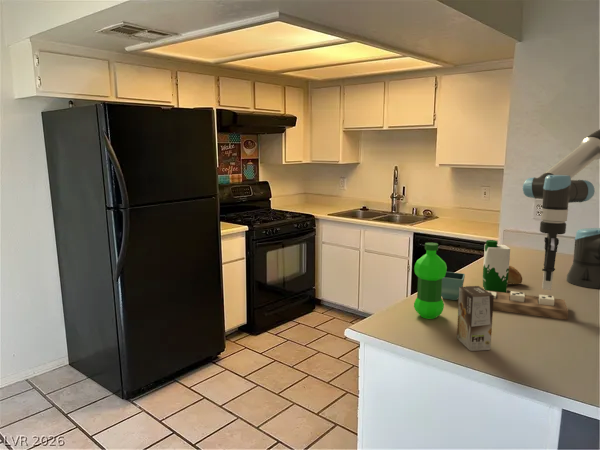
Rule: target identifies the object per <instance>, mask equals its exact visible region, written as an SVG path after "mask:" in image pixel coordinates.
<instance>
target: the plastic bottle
mask: <svg viewBox="0 0 600 450" xmlns="http://www.w3.org/2000/svg"><path fill="white" fill-rule="evenodd" d="M424 250H425V251H426V252H425V254H423V255H422V256H421V257H420V258H418V259H417V260H416V262H415V263H414V268H413V270H414V274H415V275H416V277H417V288H416V289H417V292H416V293H417V294H416V298H415V300H414V303H413V308H414V310H415V312H416V313H418V315H420V317H421V318H423V319H428V320H434V319H436V318H438V317H439V316H441V314H442V313H443V311H444V308H445V302H444V300H443V298H442V296H441V295H442V279H443V278H444V277H445V275H446V272H448V271H447V269H448V267H447V263H446V262H445V260H443V258H442V257H440V256H439V255H438V254H437V251H439V243H437V242H425V243H424Z"/></svg>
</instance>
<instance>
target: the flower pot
mask: <svg viewBox="0 0 600 450" xmlns="http://www.w3.org/2000/svg"><path fill="white" fill-rule="evenodd" d="M465 276H466V274H465V273H461V272H454V271H453V272H452V271H446V275H445V277H444V278H443V279H442V295H441V298H442V300H443V299H445V300H453V301H457V300H459V287H464V282H465V278H466V277H465Z"/></svg>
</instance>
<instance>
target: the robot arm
mask: <svg viewBox="0 0 600 450" xmlns="http://www.w3.org/2000/svg"><path fill="white" fill-rule="evenodd" d="M596 160H600V128H599V129H597V130H596V131H594V132H591V134H589V135H588V136H587V137H584V139H582V140H581V141H580V144H579V146H578V147H576V148H575V149H573V150H572V151H571V152H570V153H568V154H567V155H566V156H564V157H563V158H562V159H560V161H558V162H557V163H555V164H554V165H553V166H551V167H550V168H549V169H547V170H546V171H545V172H543V174H541V175H540V176H539V177H528V178H526V180H525V181H524V182H523V185H522V191H523V195H524V196H525V197H527V198H531V199H534V200H537V199H538V200H542V206H541V210H539V214H541V216H540V220H541V221H540V222H539V223H540V225H539V231H540V233H543V234H547V236H546V237H545V236H544V261H543V268H542V269H541V270H542V272H543V274H542V275H543V276H542V284H541V289H542V290H547V291H552V290H553V277H554V272H555V271H556V268H555V264H556V257H557V252H558V248H559V247H558V245H560V244H559V242H560V239H559V238H558V236H559V235H564V234H565V233H566V232H567V223H566V221H568V214H569V204H571V203H584V202H587V201H589V200H591V199H593V196H594V195H595V186H594V184H593V182H591V181H589V180H586V179H585V180H584V179H576V180H575V179H573V178H574V177H575V176H576V175H578V174H579V173H580V172H581V171H582V170H584V169H585V168H586V167H587V166H589V165H590V164H592V163H593V162H594V161H596ZM573 248H574V249H573V260H572V264H571V267H570V269H568V270H569V271H568V273H567V274H566V282H568V283H569V284H572V285H575V286H579V287H583V288H592V289H600V227H589V228H580V229H578V230H577V231H576V232H575V237H574V247H573Z"/></svg>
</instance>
